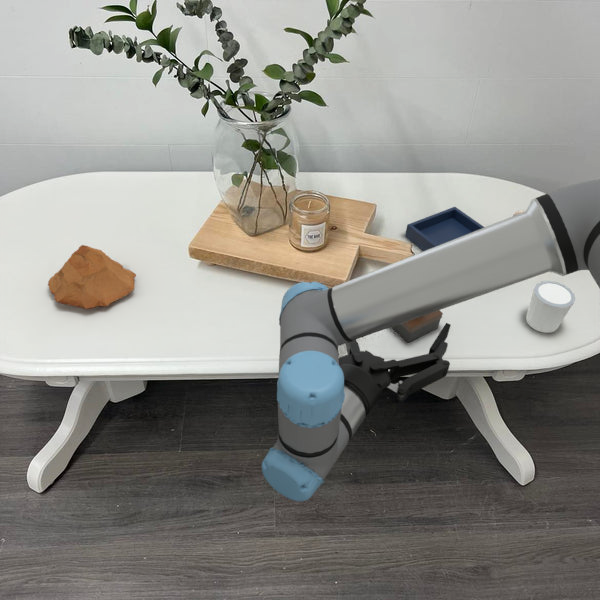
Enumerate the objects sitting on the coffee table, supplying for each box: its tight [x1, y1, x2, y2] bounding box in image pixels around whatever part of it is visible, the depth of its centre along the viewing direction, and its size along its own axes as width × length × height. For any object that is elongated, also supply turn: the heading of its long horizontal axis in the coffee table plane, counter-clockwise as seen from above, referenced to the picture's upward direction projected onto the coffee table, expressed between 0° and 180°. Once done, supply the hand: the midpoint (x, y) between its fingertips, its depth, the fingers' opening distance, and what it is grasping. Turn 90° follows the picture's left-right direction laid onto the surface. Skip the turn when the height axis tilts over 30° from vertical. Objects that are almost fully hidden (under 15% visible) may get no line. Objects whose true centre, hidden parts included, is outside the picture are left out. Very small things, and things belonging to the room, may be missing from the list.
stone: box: [47, 244, 137, 310], centre depth 106 cm, size 15×15×10 cm
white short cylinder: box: [525, 280, 576, 334], centre depth 101 cm, size 7×7×7 cm
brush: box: [391, 310, 444, 343], centre depth 97 cm, size 5×7×14 cm
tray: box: [404, 206, 485, 252], centre depth 118 cm, size 18×14×3 cm
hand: (407, 312), depth 93 cm, fingers open, 13 cm apart
